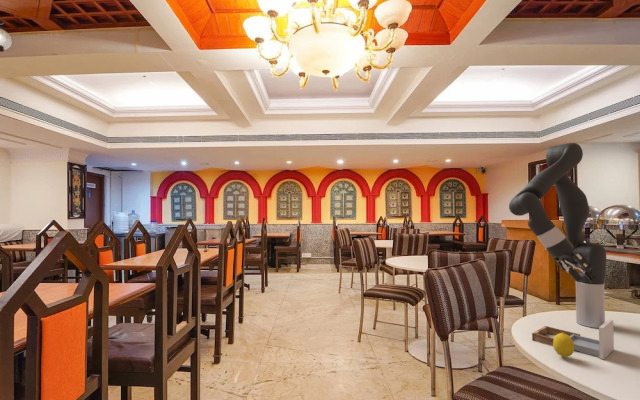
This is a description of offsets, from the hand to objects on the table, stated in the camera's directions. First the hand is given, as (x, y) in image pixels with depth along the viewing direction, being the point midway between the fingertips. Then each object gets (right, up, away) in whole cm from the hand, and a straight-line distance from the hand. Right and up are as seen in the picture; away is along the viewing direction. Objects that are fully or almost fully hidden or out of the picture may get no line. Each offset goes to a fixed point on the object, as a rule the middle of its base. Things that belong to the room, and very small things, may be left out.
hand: (586, 280), depth 118 cm
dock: (-7, -23, +4) cm, 24 cm away
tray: (-2, -23, -3) cm, 23 cm away
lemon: (-15, -23, -9) cm, 29 cm away
